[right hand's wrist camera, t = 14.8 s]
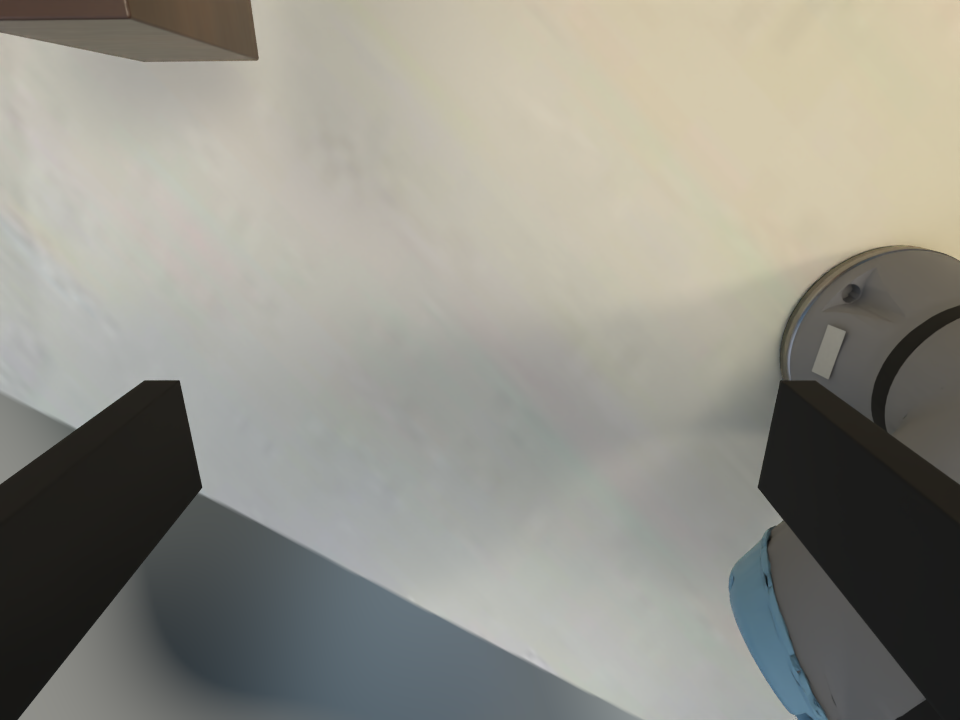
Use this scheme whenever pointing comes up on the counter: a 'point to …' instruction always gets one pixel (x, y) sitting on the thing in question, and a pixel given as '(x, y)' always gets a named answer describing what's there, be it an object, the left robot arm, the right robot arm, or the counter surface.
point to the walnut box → (139, 27)
